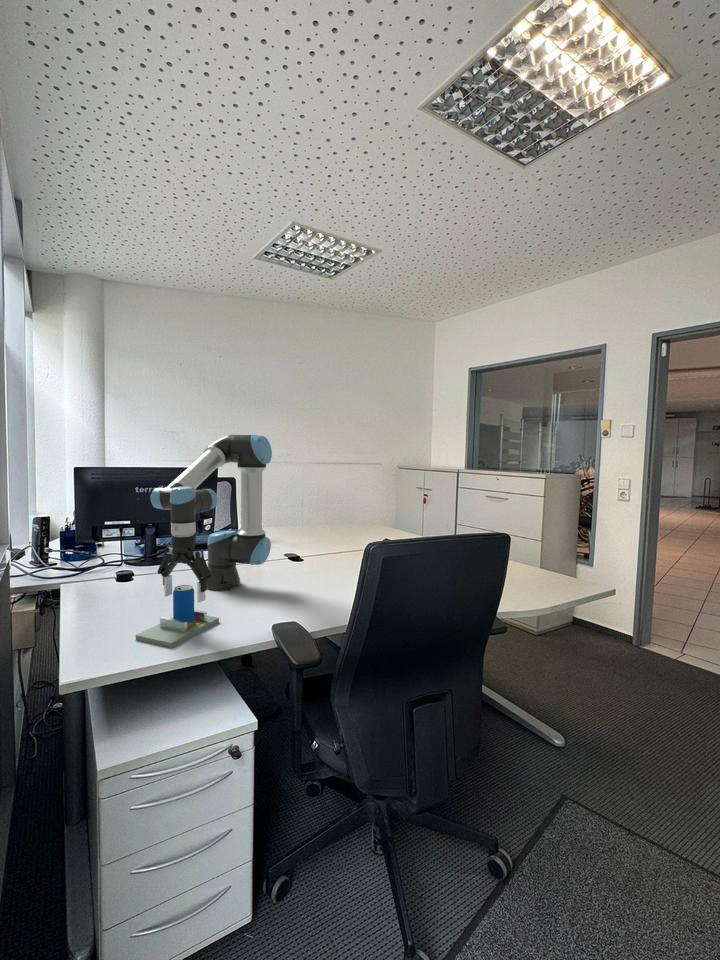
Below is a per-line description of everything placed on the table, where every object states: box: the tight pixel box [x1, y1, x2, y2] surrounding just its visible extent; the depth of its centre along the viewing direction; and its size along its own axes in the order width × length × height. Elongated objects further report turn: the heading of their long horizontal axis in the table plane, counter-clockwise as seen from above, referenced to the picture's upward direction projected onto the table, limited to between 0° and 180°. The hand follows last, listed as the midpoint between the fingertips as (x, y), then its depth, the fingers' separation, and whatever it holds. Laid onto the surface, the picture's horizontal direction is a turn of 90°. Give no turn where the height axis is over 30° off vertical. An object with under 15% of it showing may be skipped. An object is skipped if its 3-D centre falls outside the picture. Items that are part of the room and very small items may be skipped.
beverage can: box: [172, 584, 195, 625], centre depth 150 cm, size 6×6×12 cm
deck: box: [135, 615, 220, 649], centre depth 149 cm, size 14×22×2 cm, turn 159°
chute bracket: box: [159, 609, 208, 632], centre depth 150 cm, size 10×10×3 cm
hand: (184, 598), depth 150 cm, fingers open, 13 cm apart
